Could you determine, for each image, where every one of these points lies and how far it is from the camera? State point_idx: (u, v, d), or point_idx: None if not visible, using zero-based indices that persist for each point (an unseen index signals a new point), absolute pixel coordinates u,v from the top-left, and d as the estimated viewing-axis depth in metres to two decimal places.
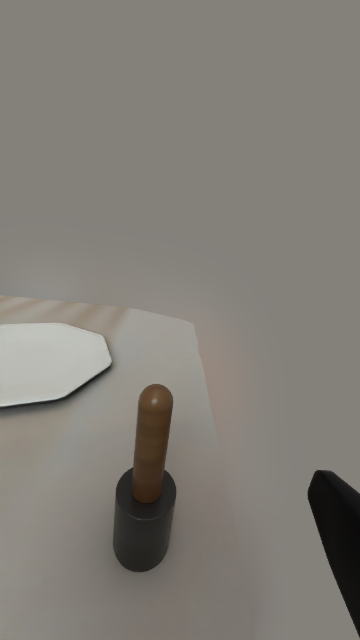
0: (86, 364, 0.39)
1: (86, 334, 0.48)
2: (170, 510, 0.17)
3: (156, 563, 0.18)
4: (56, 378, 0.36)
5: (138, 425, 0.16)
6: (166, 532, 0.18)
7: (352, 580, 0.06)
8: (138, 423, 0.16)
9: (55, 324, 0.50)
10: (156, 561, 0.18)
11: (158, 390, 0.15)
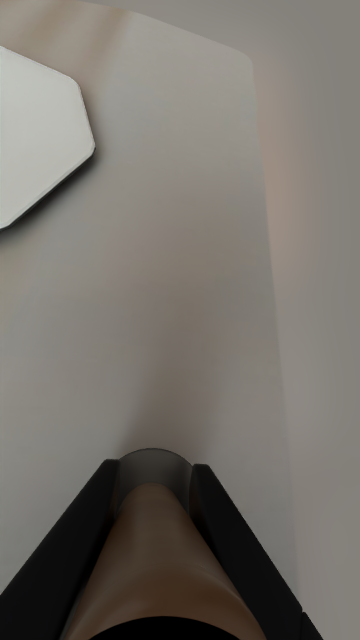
0: (47, 150, 0.21)
1: (43, 75, 0.24)
2: None
3: None
4: None
5: None
6: None
7: None
8: None
9: None
10: None
11: None
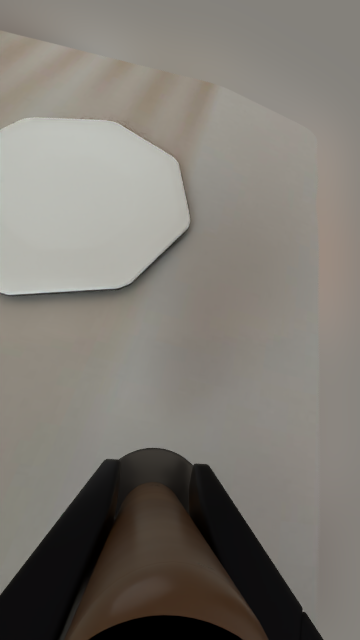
0: (154, 220, 0.27)
1: (152, 153, 0.31)
2: None
3: None
4: (116, 243, 0.26)
5: None
6: None
7: None
8: None
9: (105, 124, 0.32)
10: None
11: None
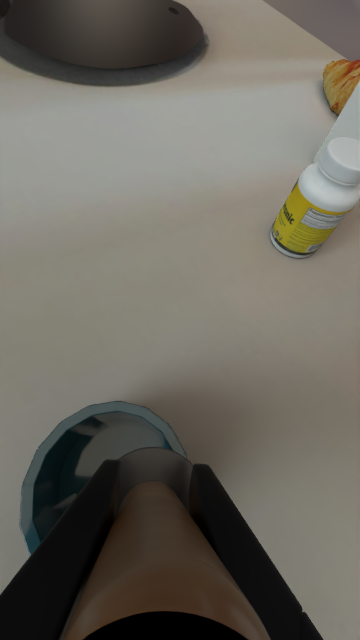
0: None
1: None
2: None
3: None
4: None
5: None
6: None
7: None
8: None
9: None
10: None
11: None
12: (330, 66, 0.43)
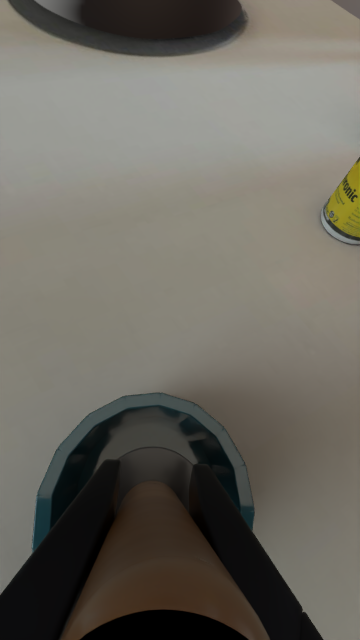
0: None
1: None
2: None
3: None
4: None
5: None
6: None
7: None
8: None
9: None
10: None
11: None
12: None
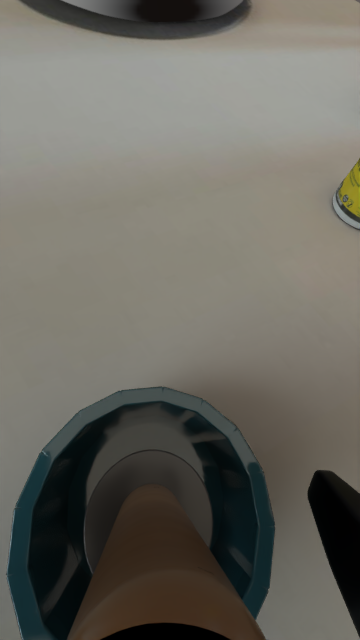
0: None
1: None
2: None
3: None
4: None
5: None
6: None
7: (352, 580, 0.06)
8: None
9: None
10: None
11: None
12: None
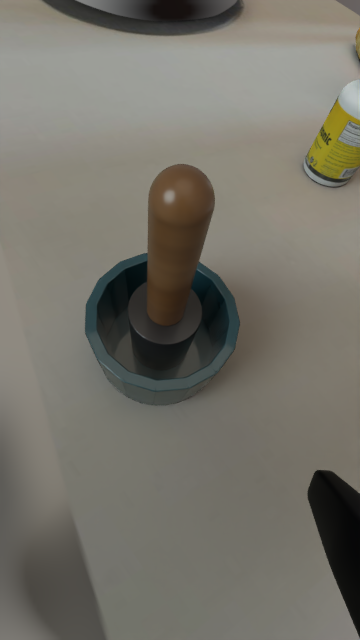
0: None
1: None
2: (194, 334, 0.14)
3: (175, 365, 0.18)
4: None
5: (150, 242, 0.09)
6: (187, 347, 0.16)
7: (352, 580, 0.06)
8: (150, 238, 0.09)
9: None
10: (176, 364, 0.18)
11: (188, 181, 0.07)
12: None
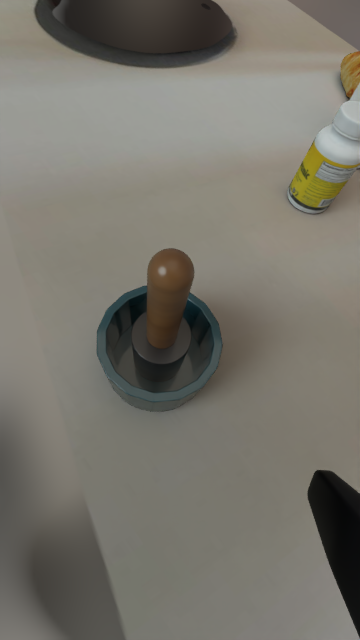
0: None
1: None
2: (184, 354, 0.18)
3: (171, 377, 0.21)
4: None
5: (149, 296, 0.13)
6: (180, 364, 0.19)
7: (352, 580, 0.06)
8: (148, 293, 0.12)
9: None
10: (171, 376, 0.21)
11: (174, 264, 0.11)
12: (348, 57, 0.47)
